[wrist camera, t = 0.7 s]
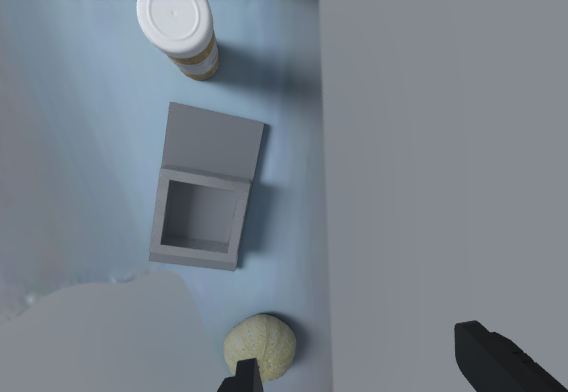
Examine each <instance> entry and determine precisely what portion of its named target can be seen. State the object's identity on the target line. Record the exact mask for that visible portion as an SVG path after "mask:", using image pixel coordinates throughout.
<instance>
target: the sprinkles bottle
mask: <svg viewBox="0 0 568 392" xmlns="http://www.w3.org/2000/svg"><path fill="white" fill-rule="evenodd" d="M137 17H138V21H139V24H140V26H141V28H142V30H143V32H144V34H145V35H146V37H147V38H148V39H149V40H150V41H151V42H152V44H153V45H154V46H155V47H156V48H158V49H159V50H160V51H161V52H163V53H164V54H166V55H167V56H168V57H169V58H170V59H171V60H172V61H173V63H174V64H175V65H177V67H179V68H180V70H181V71H182V72H183V73H184V74H185V75H186V76H187V77H190V78H192V79H195V80H204V79H207V78H209V77H211V76H212V75H213V74H214V73H215V72H216V71H217V68H218V66H219V62H220V57H219V51H218V48H217V43H216V38H215V33H214V29H213V17H212V13H211V9H210V6H209V3H208V1H207V0H137Z"/></svg>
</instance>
